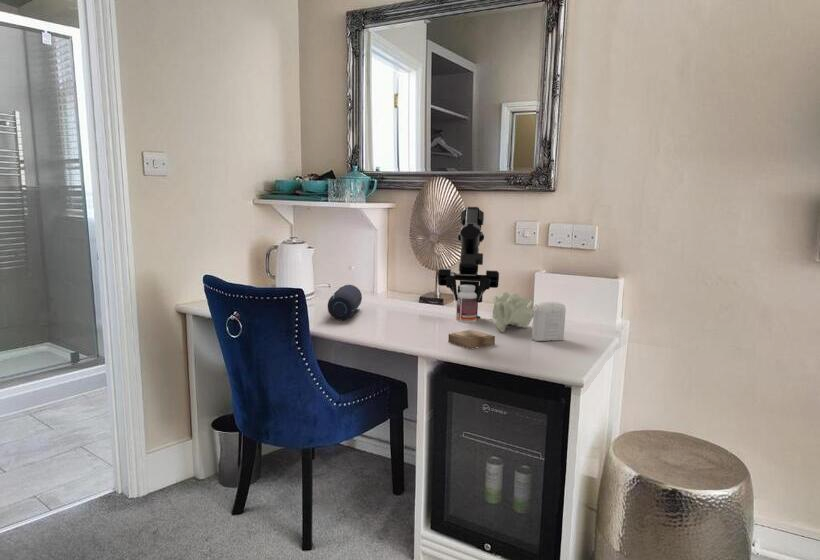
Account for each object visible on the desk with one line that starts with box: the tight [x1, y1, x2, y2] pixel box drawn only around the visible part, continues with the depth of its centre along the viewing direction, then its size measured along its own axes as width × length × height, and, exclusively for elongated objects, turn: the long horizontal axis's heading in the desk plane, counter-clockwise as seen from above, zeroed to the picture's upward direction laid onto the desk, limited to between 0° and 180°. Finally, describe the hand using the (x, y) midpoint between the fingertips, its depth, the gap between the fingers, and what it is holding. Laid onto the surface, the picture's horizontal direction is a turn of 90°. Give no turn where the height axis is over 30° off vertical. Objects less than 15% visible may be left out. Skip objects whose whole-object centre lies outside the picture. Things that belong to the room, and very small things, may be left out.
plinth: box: [447, 329, 496, 349], centre depth 173 cm, size 10×10×3 cm
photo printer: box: [531, 300, 566, 342], centre depth 178 cm, size 10×4×12 cm, turn 103°
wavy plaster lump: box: [491, 291, 534, 333], centre depth 192 cm, size 18×13×16 cm
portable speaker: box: [327, 284, 363, 321], centre depth 208 cm, size 25×10×10 cm, turn 177°
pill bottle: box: [455, 284, 478, 324], centre depth 171 cm, size 6×6×11 cm
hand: (466, 300), depth 170 cm, fingers closed on pill bottle, 6 cm apart
